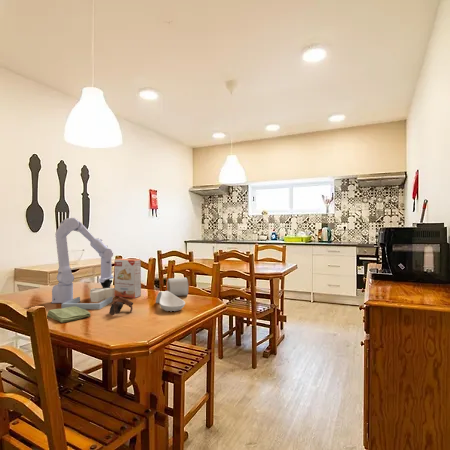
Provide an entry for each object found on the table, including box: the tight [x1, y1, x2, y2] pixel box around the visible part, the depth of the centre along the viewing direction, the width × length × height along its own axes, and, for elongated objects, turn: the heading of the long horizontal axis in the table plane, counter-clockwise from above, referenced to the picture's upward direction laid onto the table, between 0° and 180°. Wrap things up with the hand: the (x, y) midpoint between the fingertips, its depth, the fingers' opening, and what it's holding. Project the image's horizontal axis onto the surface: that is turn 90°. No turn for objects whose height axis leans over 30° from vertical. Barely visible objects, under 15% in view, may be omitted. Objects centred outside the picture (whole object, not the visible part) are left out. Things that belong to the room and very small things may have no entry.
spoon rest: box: [155, 290, 186, 313], centre depth 152 cm, size 24×12×7 cm, turn 31°
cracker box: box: [114, 258, 142, 299], centre depth 178 cm, size 14×6×21 cm, turn 68°
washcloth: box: [46, 306, 91, 324], centre depth 137 cm, size 13×18×3 cm
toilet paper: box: [166, 277, 189, 297], centre depth 178 cm, size 10×10×10 cm
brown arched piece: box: [108, 296, 134, 316], centre depth 142 cm, size 12×10×8 cm
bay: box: [61, 296, 114, 310], centre depth 158 cm, size 18×16×2 cm
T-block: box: [89, 287, 116, 303], centre depth 171 cm, size 12×12×5 cm
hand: (106, 293), depth 180 cm, fingers closed
